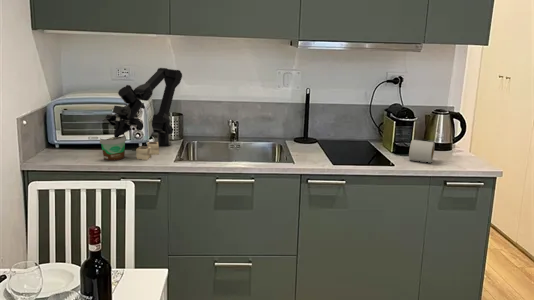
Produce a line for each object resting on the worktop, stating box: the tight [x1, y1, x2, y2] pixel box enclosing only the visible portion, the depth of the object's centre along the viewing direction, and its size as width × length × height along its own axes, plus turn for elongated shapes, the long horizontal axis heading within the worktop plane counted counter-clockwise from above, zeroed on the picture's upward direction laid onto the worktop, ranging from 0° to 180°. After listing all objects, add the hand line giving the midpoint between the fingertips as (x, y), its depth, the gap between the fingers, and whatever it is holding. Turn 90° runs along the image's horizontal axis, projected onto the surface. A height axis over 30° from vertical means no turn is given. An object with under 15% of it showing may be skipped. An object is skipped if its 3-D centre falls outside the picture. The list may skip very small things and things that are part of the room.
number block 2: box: [146, 141, 160, 156], centre depth 249 cm, size 5×5×5 cm
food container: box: [99, 134, 127, 162], centre depth 236 cm, size 12×6×10 cm, turn 130°
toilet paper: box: [408, 139, 435, 164], centre depth 249 cm, size 10×10×10 cm
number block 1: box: [136, 145, 152, 161], centre depth 240 cm, size 5×5×5 cm
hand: (115, 137), depth 234 cm, fingers closed, pressing on food container
